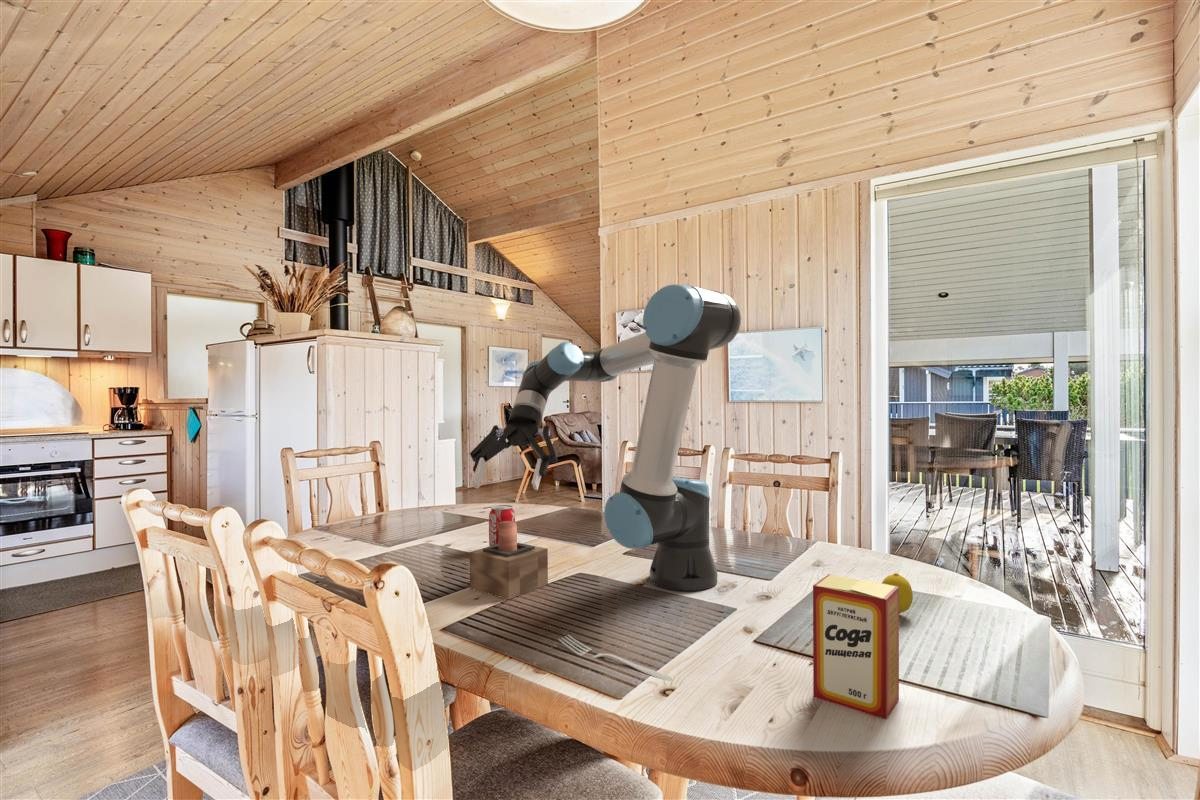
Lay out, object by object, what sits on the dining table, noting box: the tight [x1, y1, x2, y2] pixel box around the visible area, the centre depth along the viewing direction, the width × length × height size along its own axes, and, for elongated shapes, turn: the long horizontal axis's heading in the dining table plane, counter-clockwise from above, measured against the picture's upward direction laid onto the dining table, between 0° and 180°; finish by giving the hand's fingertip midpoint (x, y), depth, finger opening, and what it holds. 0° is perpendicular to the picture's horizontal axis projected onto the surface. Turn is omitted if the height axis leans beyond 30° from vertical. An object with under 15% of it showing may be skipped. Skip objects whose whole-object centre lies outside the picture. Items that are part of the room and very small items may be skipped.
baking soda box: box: [812, 573, 900, 720], centre depth 84 cm, size 10×6×16 cm
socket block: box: [469, 542, 549, 600], centre depth 133 cm, size 12×12×9 cm
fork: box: [557, 634, 674, 682], centre depth 95 cm, size 3×24×2 cm, turn 53°
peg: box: [498, 520, 518, 552], centre depth 133 cm, size 4×4×14 cm
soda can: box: [488, 504, 516, 547], centre depth 163 cm, size 7×7×12 cm
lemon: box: [881, 572, 914, 615], centre depth 115 cm, size 6×6×8 cm
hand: (504, 485), depth 131 cm, fingers open, 13 cm apart
